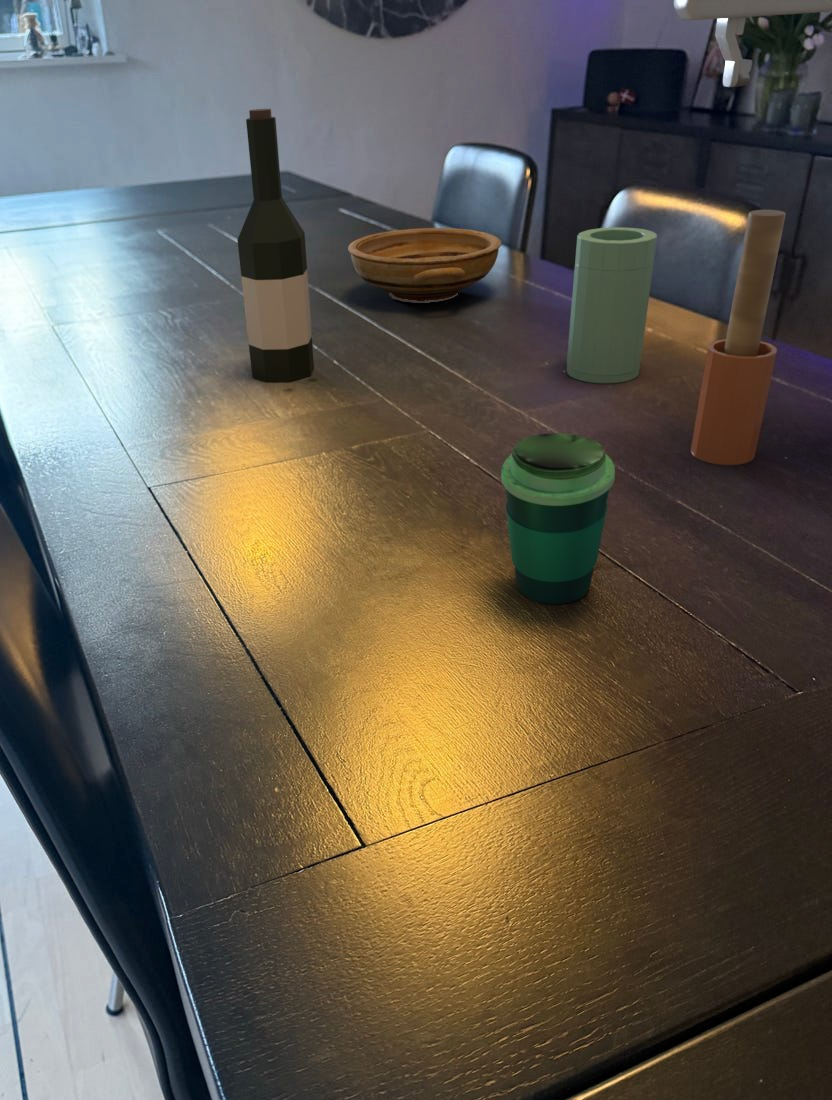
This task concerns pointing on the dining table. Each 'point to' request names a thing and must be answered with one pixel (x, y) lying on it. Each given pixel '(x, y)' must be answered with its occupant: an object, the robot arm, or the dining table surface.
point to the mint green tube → (610, 303)
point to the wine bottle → (273, 267)
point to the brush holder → (732, 404)
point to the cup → (556, 513)
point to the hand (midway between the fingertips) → (792, 82)
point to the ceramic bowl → (424, 261)
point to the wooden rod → (754, 282)
